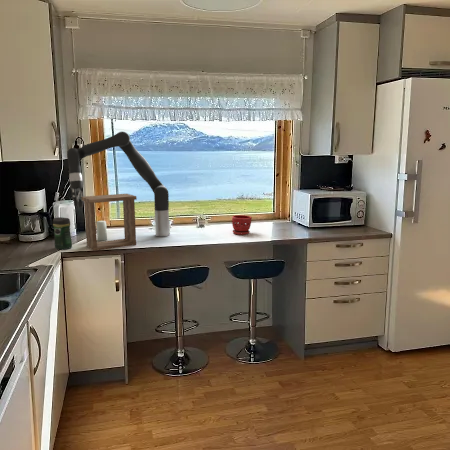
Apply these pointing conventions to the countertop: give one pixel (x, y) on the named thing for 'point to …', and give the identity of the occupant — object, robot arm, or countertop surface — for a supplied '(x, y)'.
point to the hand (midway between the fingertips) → (78, 206)
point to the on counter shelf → (128, 221)
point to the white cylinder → (101, 231)
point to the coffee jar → (62, 233)
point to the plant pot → (241, 224)
